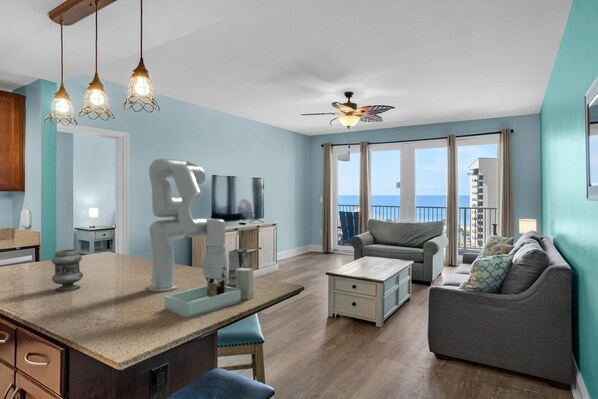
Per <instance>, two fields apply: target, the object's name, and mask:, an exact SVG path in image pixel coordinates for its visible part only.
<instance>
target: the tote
mask: <svg viewBox="0 0 598 399" xmlns="http://www.w3.org/2000/svg"><path fill="white" fill-rule="evenodd" d="M241 302H242V301H241V290H240V289H236V287H232V286H227V285H225V293H223V294H220V295H216V296H212V297H208V296H207V285H204V286H199V287H195V288H191V289H188V290H184V291H180V292H175V293H171V294H167V295H164V310H166V311H168V312H172V313H173V314H174V313H175V314H177V315H180V316H182V317H185V318H188V319H190V318H194V317H197V316H200V315H201V316H202V315H204V314H206V313H207V314H208V313H209V312H212V311H213V312H214V311H215V310H219V309H222V308H225V307H229V306H232V305H235V304H238V303H241Z"/></svg>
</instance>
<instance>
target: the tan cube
mask: <svg viewBox="0 0 598 399" xmlns="http://www.w3.org/2000/svg"><path fill="white" fill-rule="evenodd" d="M206 286H207V296H208V297H212V296H216V295H217V286H218V284H217V281H214V282H213V283H209V284H207V283H206ZM225 286H226V284H225V285H224V293H225Z"/></svg>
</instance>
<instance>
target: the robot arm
mask: <svg viewBox="0 0 598 399" xmlns="http://www.w3.org/2000/svg"><path fill="white" fill-rule="evenodd" d="M148 176H149V181H150V184H151V201H152V204H151V205H152V213H153V215H154V216H155V217H157V218H171V217H172V219H162V220H156V221H153V222H152V223H151V225H150V226H149V229H148V230H149V237H150V242H151V259H152V260H151V263H152V264H151V267H152V272H151V273H152V274H151V279H150V282H152V284H151V285H150V286H148V291H151V292H158V293H160V292H168V291H173V290H175V289H177V288H178V287H179V284H178V283H176V282H175V250H174V249H175V248H174V247H173V245H172V244H171V242H170V241H172V240H173V241H175V240H181V239H184V238H185V237H188V238H200V237H205V242H206V243H205V246H206V247H205V248H206V249H205V251H206V252H205V254H204V259H203V276H204V278H205V280H206V285H207V284H209V283H213V282H217V284H218V286H217V295H220V294H223V293H224V285H225V286H226V283H227V282H229V275H228V261H227V255H226V223H225V222H226V221H225V219H221V218H211V217H200V218H199V217H198V218H193V216H192V214H191V210H190V206H191V205H192V204H194V203H196V202H198V201H199V200H200V199H201V198H202V191H201V189H200V186H199V185H202V184H204V182H205V180H206V172H205V170H204V169H203V168H202V167H201V166H199V165H198V164H195V163H193V162H190V161H187V160H182V159H172V158H157V159H155V160H153V161H151V163H150V165H149V168H148ZM167 178H170V179H171V178H172V179H173V180H174V183H175V186H176V188H177V191H178V193H179V195H180V196H173V193H172V192H173V191H172V185H171V184H170V181H169V180H168V179H167ZM215 280H216V281H215Z"/></svg>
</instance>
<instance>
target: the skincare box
mask: <svg viewBox="0 0 598 399" xmlns="http://www.w3.org/2000/svg"><path fill="white" fill-rule="evenodd" d="M253 269H254V268H253V267H250V268H249V267H247V268H239V269H237V270H236V285H235V288H236V289H240V290H241V299H242V300H251V299H252V298H254V295H255V294H254V293H255V291H254V270H253Z"/></svg>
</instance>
